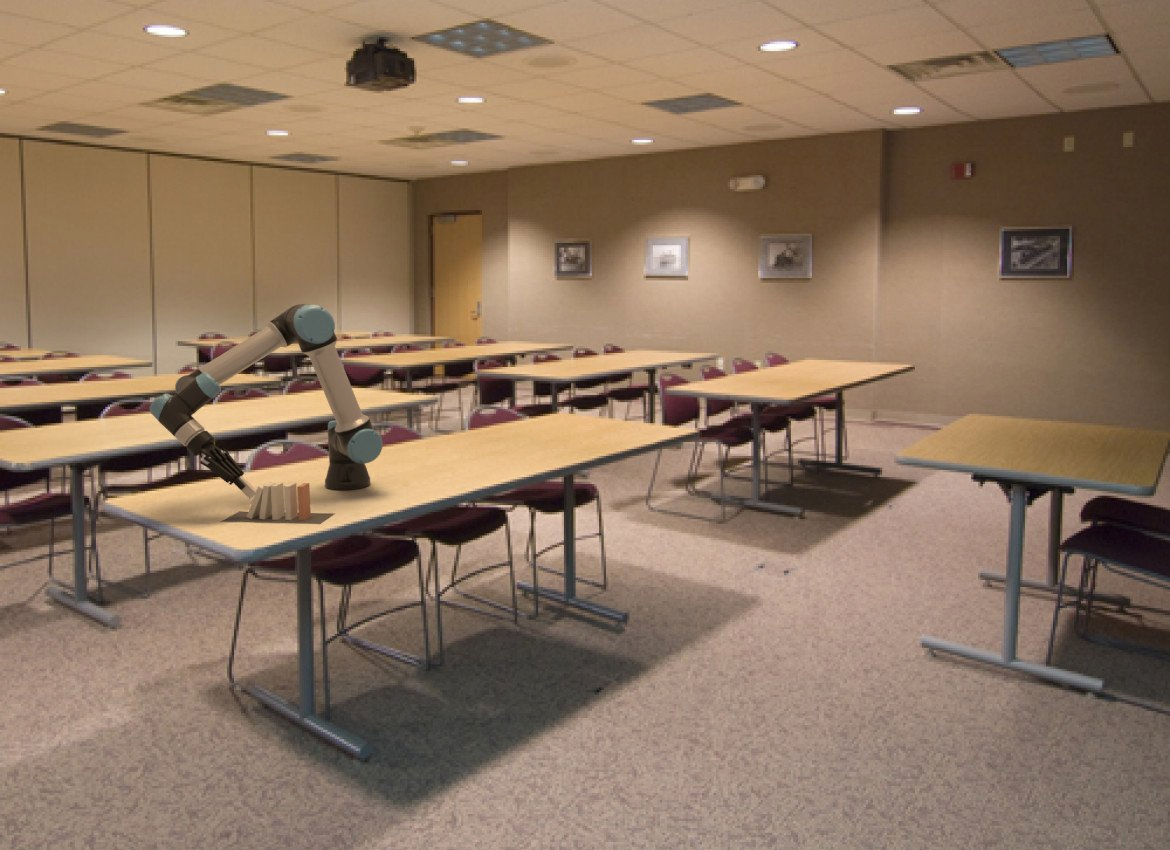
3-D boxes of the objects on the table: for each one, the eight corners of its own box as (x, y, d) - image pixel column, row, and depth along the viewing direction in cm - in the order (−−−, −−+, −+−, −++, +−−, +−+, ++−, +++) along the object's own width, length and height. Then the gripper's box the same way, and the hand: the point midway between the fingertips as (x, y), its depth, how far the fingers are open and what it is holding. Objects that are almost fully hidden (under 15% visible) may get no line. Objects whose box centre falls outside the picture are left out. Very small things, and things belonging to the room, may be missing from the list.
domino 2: (259, 518, 264) (263, 485, 262) (266, 514, 269) (270, 481, 267) (264, 519, 264) (268, 486, 262) (271, 515, 269) (276, 482, 267)
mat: (220, 522, 262) (219, 521, 261) (239, 512, 273) (239, 511, 273) (320, 524, 259) (320, 523, 259) (335, 514, 271) (335, 513, 271)
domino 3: (272, 519, 264) (270, 486, 262) (279, 515, 269) (277, 482, 267) (277, 519, 264) (275, 486, 262) (284, 515, 268) (283, 482, 267)
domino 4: (285, 519, 263) (283, 486, 262) (292, 515, 268) (290, 482, 267) (290, 520, 263) (289, 486, 262) (297, 515, 268) (296, 482, 267)
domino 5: (298, 520, 263) (297, 486, 261) (305, 515, 268) (304, 482, 266) (304, 520, 263) (302, 486, 261) (310, 516, 268) (309, 483, 266)
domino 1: (246, 516, 264) (258, 486, 263) (254, 512, 269) (265, 482, 267) (251, 519, 264) (263, 488, 262) (259, 514, 269) (270, 485, 267)
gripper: (199, 443, 272) (255, 498, 273) (175, 451, 259) (235, 509, 260) (214, 426, 270) (271, 481, 271) (192, 433, 257) (251, 491, 259)
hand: (253, 495), depth 266 cm, fingers closed
